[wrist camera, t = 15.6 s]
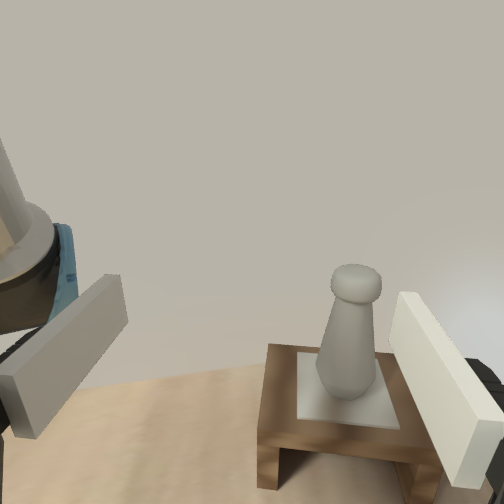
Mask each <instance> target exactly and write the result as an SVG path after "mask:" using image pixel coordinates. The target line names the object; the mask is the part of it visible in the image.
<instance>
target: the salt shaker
mask: <svg viewBox="0 0 504 504" xmlns="http://www.w3.org/2000/svg"><path fill="white" fill-rule="evenodd" d="M381 289H382V282H381V276H380V275H379V274H378V273H377V272H376V271H375V270H374V269H372V268H370V267H367V266H363V265H359V264H347V265H342V266H340V267H339V268H337V269H336V270H334V273H333V276H332V279H331V290H332V292H333V293H334V295H335V296H336V298H335V301H334V305H333V308H332V311H331V314H330V317H329V321H328V324H327V327H326V330H325V334H324V337H323V340H322V343H321V347H320V350H319V353H318V356H317V359H316V363H315V364H316V369H317V372H318V374H319V377H320V380H321V382H322V384H323V385H324V387H325V388H326V390H327V391H328V392H329V394H330V395H331V396H332V397H336V398H340V399H344V400H347V401H352V400H353V399H355V398H357V397H359V396H360V395H362V394H363V393H364V392H365V391H366V390H367V389H368V388H369V387H370V386H371V385H372V383H373V382H374V381H375V378H376V365H375V350H374V331H373V312H372V311H373V310H372V302H374V301H375V300H376V299H378V298H379V296H380V294H381Z"/></svg>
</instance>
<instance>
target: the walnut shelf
mask: <svg viewBox="0 0 504 504" xmlns="http://www.w3.org/2000/svg"><path fill="white" fill-rule="evenodd" d="M319 350H320V348H318V347H305V346H293V345H281V344H268V352H267V360H266V367H265V374H264V382H263V389H262V397H261V404H260V412H259V419H258V427H257V488H263V489H270V490H277V488H278V470H279V453H280V447H281V448H289V449H298V450H306V451H314V452H322V453H331V454H339V455H347V456H355V457H364V458H372V459H380V460H388V461H394V465H395V468H396V472H397V475H398V479H399V482H400V486H401V489H402V493H403V497H404V500H405V504H432V503H433V500H434V497H435V494H436V490H437V487H438V484H439V481H440V478H441V475H442V472H443V469H444V467H443V465H442V463H441V460H440V458H439V456H438V453H437V451H436V449H435V447H434V444H433V442H432V440H431V437H430V435H429V433H428V431H427V428H426V426H425V424H424V421H423V419H422V417H421V415H420V412H419V410H418V408H417V405H416V403H415V401H414V399H413V396H412V394H411V392H410V389H409V387H408V385H407V383H406V380H405V378H404V376H403V373H402V371H401V369H400V367H399V364H398V362H397V360H396V357H395V355H394V354H391V353H378V352H375V365H376V378H375V381H374V382H373V383H372V385H371V386H370V387H369V388H368V389H367V390H366V391H365V392H364V393H363V394H362V395H360V396H359V397H357V398H355V399H353V400H352V401H347V400H344V399H340V398H336V397H332V396H331V395H330V394H329V392H328V391H327V390H326V388H325V387H324V385H323V384H322V382H321V380H320V377H319V374H318V372H317V369H316V364H315V363H316V359H317V356H318V353H319Z"/></svg>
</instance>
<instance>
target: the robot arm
mask: <svg viewBox="0 0 504 504" xmlns="http://www.w3.org/2000/svg"><path fill="white" fill-rule="evenodd" d="M127 323H128V318H127V312H126V307H125V300H124V295H123V289H122V283H121V277H120V275H112V274H105V275H104V276H103V277H101V278H100V279H99V280H98V281H97V282H95V283H94V284H93V285H92V286H91V287H90V288H89V289H87V290H86V291H85V292H84V293H83V294H81V296H78V285H77V277H76V262H75V252H74V244H73V235H72V229H71V228H70V226H68V225H66V224H59V223H52V221H51V219H50V217H49V216H48V215H47V214H46V212H45V211H44V210H42V209H41V208H40V207H38V206H36V205H34V204H32V203H30V202H27V201H25V198H24V196H23V193H22V191H21V189H20V186H19V184H18V181H17V179H16V176H15V174H14V171H13V169H12V166H11V164H10V162H9V159H8V157H7V154H6V151H5V149H4V147H3V144H2V142H1V139H0V335H3V334H8V333H12V332H16V331H21V330H26V329H31V328H35V327H38V328H36V329H34V330H33V331H31V332H29V333H27V334H25V335H24V336H23V337H22V338H20V340H18V341H17V342H16V343H15V345H12V346H11V347H10V348H8V349H7V350H6V352H4V353H2V354H1V355H0V504H2V480H3V452H4V441H3V437H2V435H1V434H2V433H3V432H4V430H5V429H6V428H7V427H8V426H9V425H10V426H11V428H12V431H13V433H14V436H15V437H19V438H28V439H37V438H38V437H39V435H40V434H41V433H42V431H43V430H44V429H45V428H46V426H47V425H48V424H49V423H50V421H51V420H52V419H53V417H54V416H55V415H56V414H57V412H58V411H59V410H60V409H61V407H62V406H63V405H64V403H65V402H66V401H67V400H68V398H69V397H70V396H71V394H72V393H73V392H74V391H75V389H76V388H77V387H78V386H79V384H80V383H81V382H82V380H83V379H84V378H85V377H86V375H87V374H88V373H89V371H90V370H91V369H92V367H93V366H94V365H95V364H96V363H97V361H98V360H99V359H100V357H101V356H102V354H104V352H105V351H106V350H107V348H108V347H109V346H110V345H111V343H112V342H113V341H114V340H115V338H116V337H117V336H118V334H119V333H120V332H121V331H122V329H123V328H124V327H125V326H126V324H127ZM389 344H390V346H391V348H392V351H393V353H394V355H395V357H396V360H397V362H398V364H399V367H400V369H401V371H402V373H403V376H404V378H405V380H406V383H407V385H408V387H409V389H410V392H411V394H412V396H413V399H414V401H415V403H416V405H417V408H418V410H419V412H420V415H421V417H422V419H423V421H424V424H425V426H426V428H427V431H428V433H429V435H430V437H431V440H432V442H433V444H434V447H435V449H436V451H437V453H438V456H439V458H440V460H441V463H442V465H443V467H444V469H445V472H446V474H447V476H448V479H449V481H450V483H451V485H452V487H460V488H469V489H478V490H480V488H481V486H482V484H483V481H484V479H485V477H487V479H488V481H489V483H490V484H491V486H492V488H493V490H494V492H493V494H492V496H491V498H490V500H489V502H488V504H504V385H502V384H501V381H500V380H499V379H498V377H497V376H496V375H495V374H494V372H493V371H492V370H491V369H490V368H488V367H487V366H486V365H484V364H483V363H482V362H480V361H479V360H478V359H470V358H464V357H463V356H462V354H461V353H460V352H459V350H458V349H457V347H456V346H455V345H454V343H453V342H452V341H451V339H450V338H449V336H448V335H447V334H446V332H445V331H444V329H443V328H442V327H441V325H440V324H439V322H438V321H437V320H436V318H435V317H434V316H433V314H432V313H431V311H430V310H429V309H428V307H427V306H426V304H425V303H424V302H423V300H422V299H421V297H420V296H419V295H418V293H417V292H401V291H399V294H398V299H397V304H396V308H395V313H394V317H393V322H392V327H391V332H390V336H389Z"/></svg>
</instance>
